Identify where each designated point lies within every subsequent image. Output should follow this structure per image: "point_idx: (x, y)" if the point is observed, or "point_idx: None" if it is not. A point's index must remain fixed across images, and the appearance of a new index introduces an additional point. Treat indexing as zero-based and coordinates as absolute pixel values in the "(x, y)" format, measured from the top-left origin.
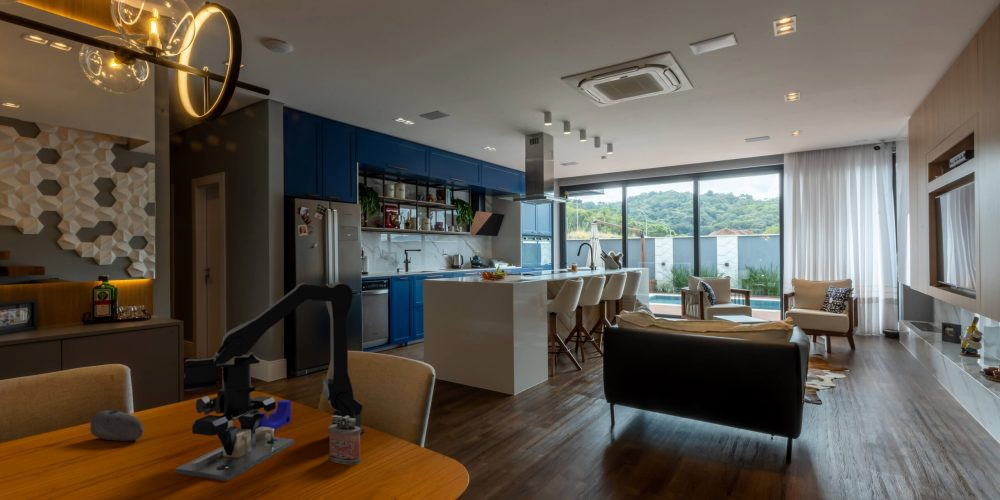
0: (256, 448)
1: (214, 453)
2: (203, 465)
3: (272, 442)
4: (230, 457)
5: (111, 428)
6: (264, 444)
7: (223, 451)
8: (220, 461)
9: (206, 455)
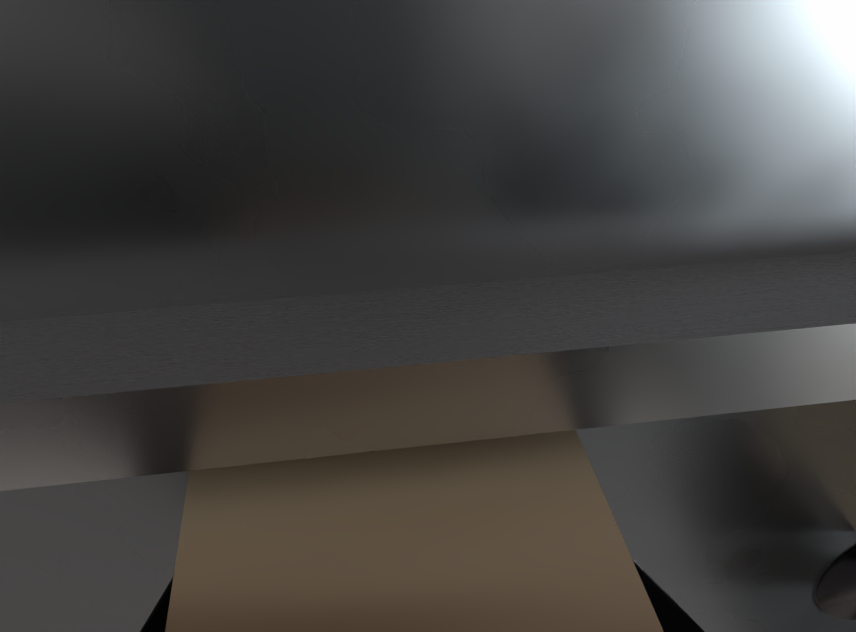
0: None
1: None
2: None
3: (848, 599)
4: None
5: None
6: (788, 562)
7: (186, 513)
8: (23, 544)
9: (23, 2)
